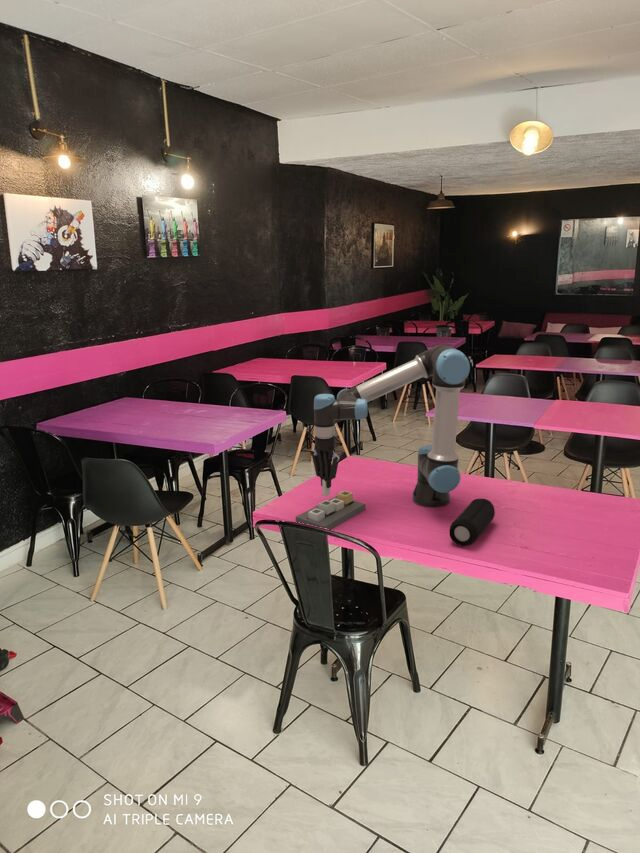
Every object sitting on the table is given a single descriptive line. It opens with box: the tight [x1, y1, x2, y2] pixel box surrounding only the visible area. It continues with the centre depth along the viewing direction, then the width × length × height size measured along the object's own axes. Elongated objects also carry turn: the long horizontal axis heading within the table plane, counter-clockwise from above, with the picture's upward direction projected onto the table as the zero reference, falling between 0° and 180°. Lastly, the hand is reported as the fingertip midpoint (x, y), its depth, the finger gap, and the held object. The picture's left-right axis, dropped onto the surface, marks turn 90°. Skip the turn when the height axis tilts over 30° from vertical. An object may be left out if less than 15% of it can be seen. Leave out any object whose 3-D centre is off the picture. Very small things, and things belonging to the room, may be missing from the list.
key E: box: [308, 508, 325, 522], centre depth 236 cm, size 4×4×4 cm
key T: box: [331, 498, 344, 511], centre depth 244 cm, size 4×4×4 cm
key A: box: [317, 499, 335, 515], centre depth 240 cm, size 4×4×4 cm
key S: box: [336, 490, 354, 504], centre depth 248 cm, size 4×4×4 cm
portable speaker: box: [449, 498, 496, 547], centre depth 225 cm, size 26×10×10 cm, turn 148°
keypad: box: [295, 495, 366, 530], centre depth 243 cm, size 14×26×2 cm, turn 141°
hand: (326, 494), depth 238 cm, fingers closed
